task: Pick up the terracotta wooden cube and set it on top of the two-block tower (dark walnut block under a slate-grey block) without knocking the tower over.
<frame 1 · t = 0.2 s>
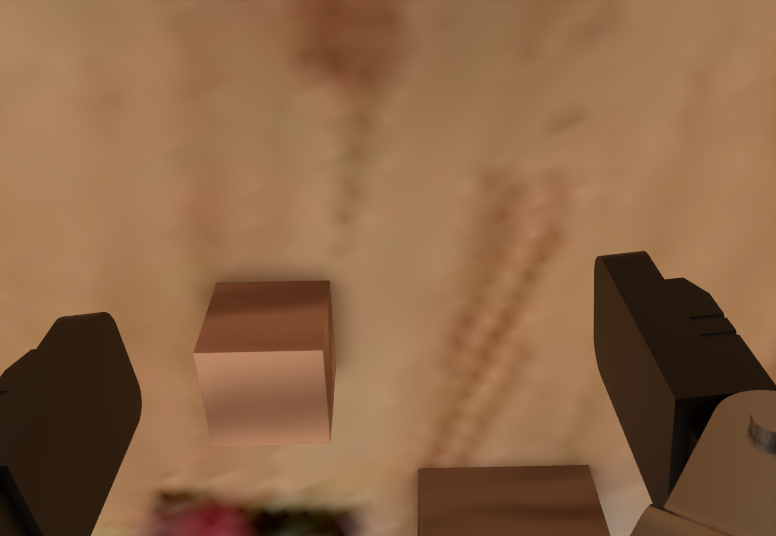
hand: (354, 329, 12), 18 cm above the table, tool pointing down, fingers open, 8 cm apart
tower bottom: (497, 519, 42), on the table, touching tower top
terracotta cube: (278, 326, 34), on the table
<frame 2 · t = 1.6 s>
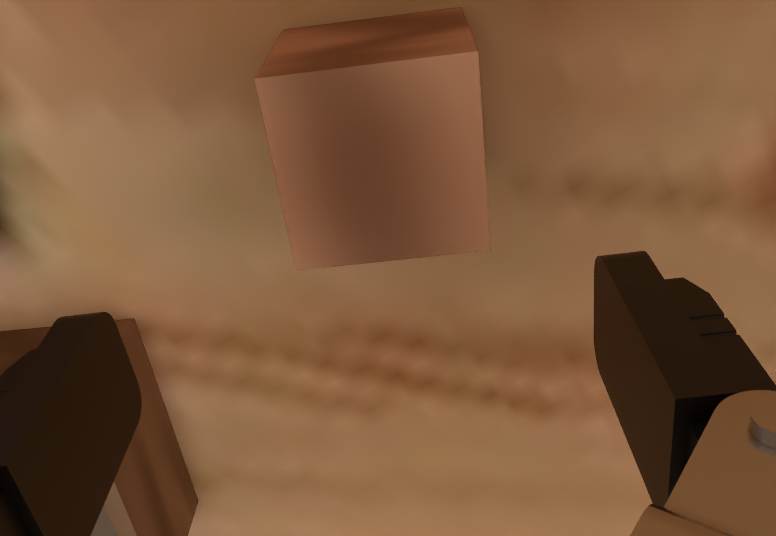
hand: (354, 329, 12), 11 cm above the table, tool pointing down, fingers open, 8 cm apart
tower bottom: (56, 423, 29), on the table, touching tower top
terracotta cube: (383, 104, 22), on the table
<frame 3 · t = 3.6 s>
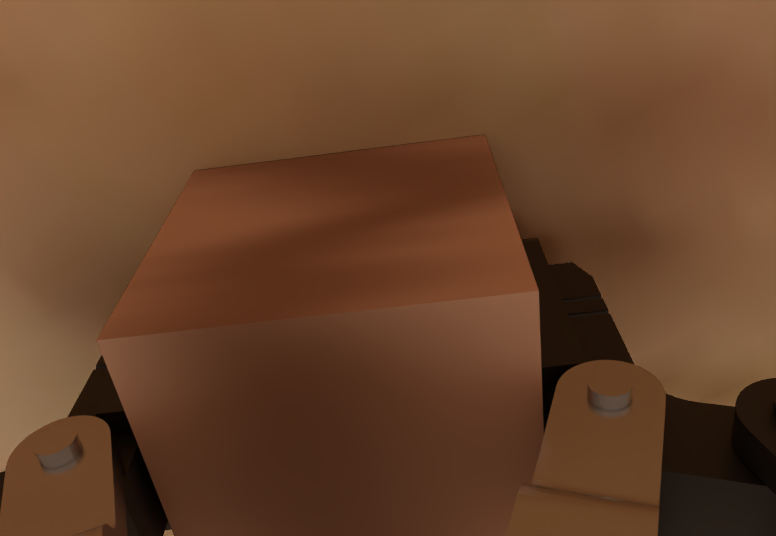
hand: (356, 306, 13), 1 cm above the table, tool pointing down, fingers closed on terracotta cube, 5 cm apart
terracotta cube: (359, 278, 14), on the table, touching gripper
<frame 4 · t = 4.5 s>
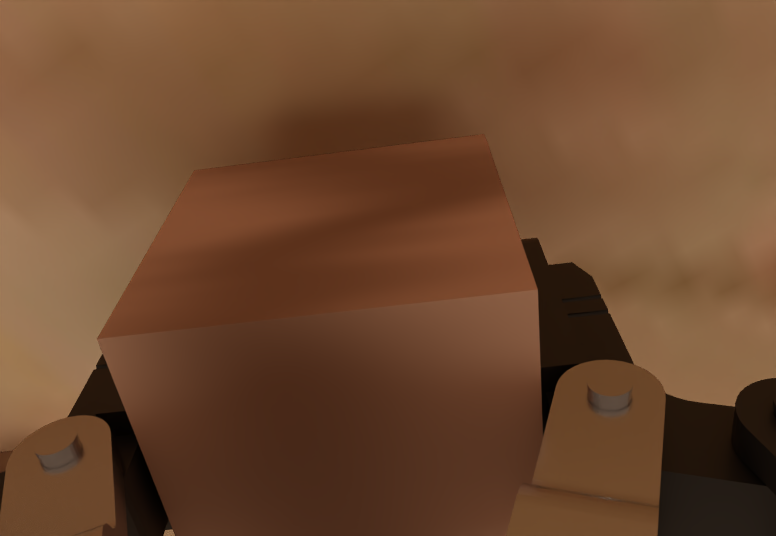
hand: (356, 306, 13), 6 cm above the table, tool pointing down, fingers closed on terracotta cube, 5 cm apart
terracotta cube: (359, 277, 14), point 5 cm above the table, touching gripper
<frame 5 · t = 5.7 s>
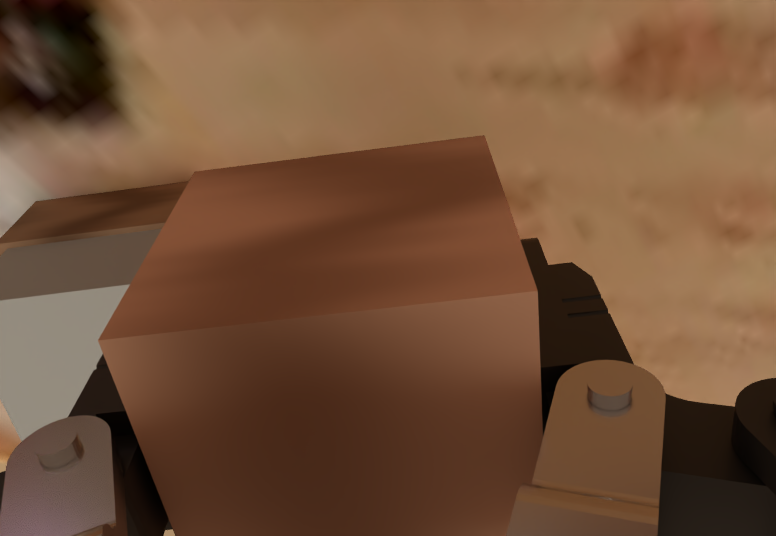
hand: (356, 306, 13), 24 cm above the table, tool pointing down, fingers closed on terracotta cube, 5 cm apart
tower bottom: (146, 263, 41), on the table
terracotta cube: (359, 278, 14), point 23 cm above the table, touching gripper
tower top: (117, 310, 36), point 5 cm above the table
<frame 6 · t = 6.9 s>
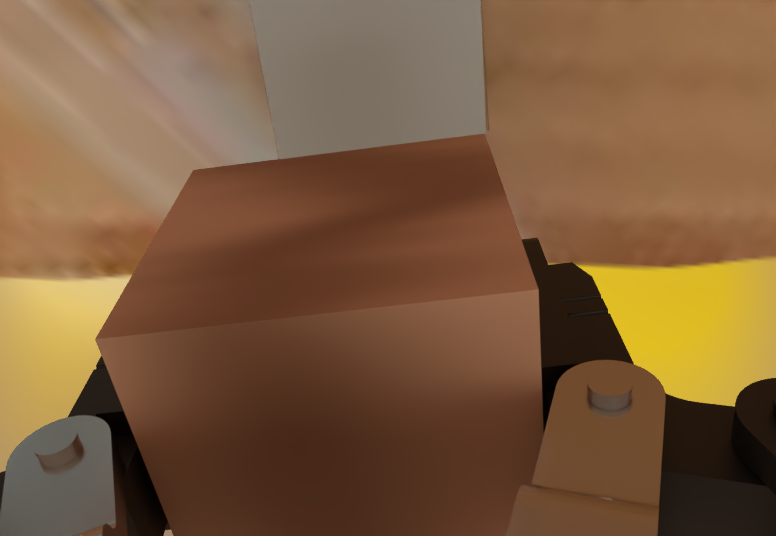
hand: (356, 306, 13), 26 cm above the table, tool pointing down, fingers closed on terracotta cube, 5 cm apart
terracotta cube: (359, 277, 14), point 25 cm above the table, touching gripper
tower top: (376, 46, 31), point 5 cm above the table, touching tower bottom
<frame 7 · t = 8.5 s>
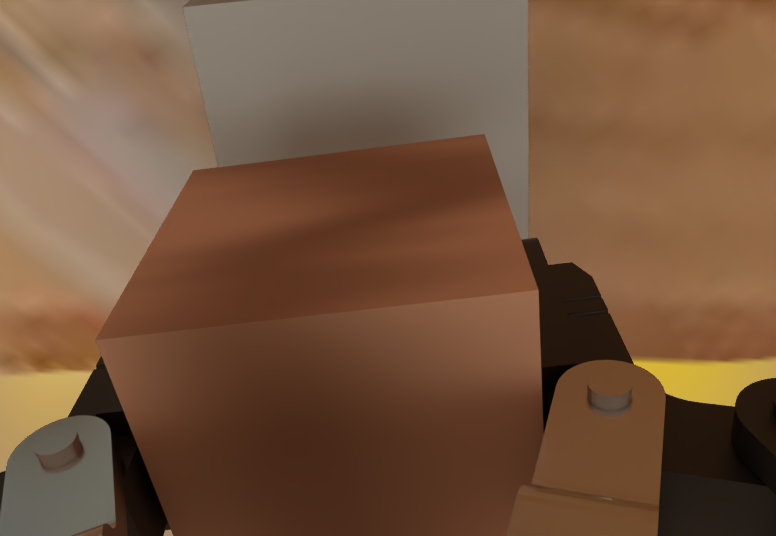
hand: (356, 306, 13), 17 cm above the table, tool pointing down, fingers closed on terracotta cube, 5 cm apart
terracotta cube: (359, 278, 14), point 16 cm above the table, touching gripper
tower top: (374, 95, 23), point 5 cm above the table, touching tower bottom
when the fingers open (12 cm above the table, at t = 10.2 s): terracotta cube drops 2 cm, resting on tower top.
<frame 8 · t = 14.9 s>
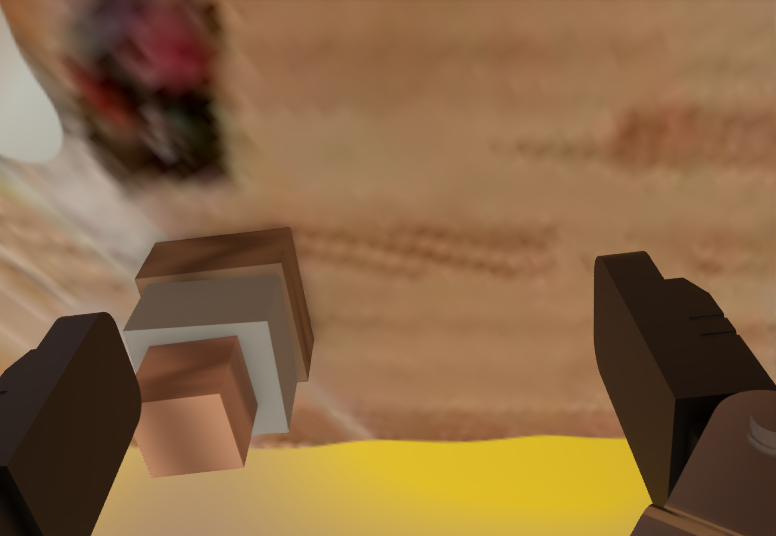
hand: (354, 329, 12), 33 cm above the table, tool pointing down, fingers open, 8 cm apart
tower bottom: (238, 290, 51), on the table, touching tower top
terracotta cube: (205, 376, 42), point 10 cm above the table, touching tower top
tower top: (225, 333, 47), point 5 cm above the table, touching terracotta cube, tower bottom
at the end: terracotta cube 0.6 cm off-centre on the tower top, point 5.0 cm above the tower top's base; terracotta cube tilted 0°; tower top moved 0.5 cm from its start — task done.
